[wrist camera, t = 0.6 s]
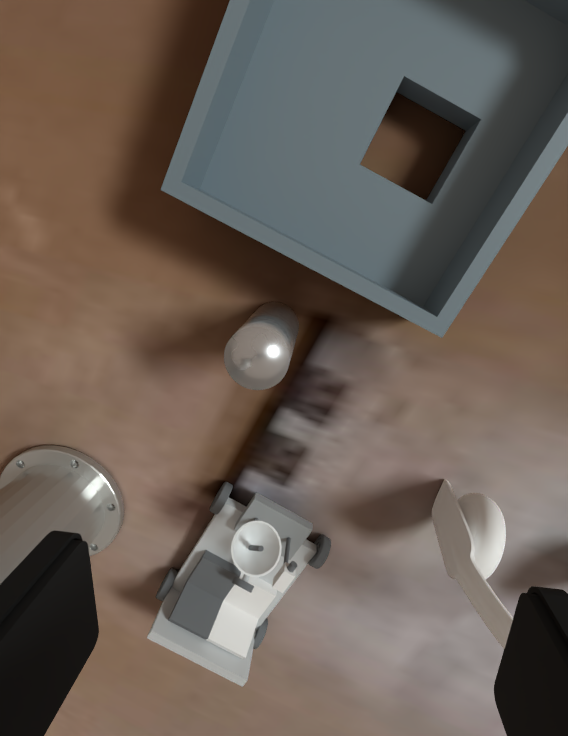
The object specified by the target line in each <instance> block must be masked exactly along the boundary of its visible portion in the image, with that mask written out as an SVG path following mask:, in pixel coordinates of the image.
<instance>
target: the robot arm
mask: <svg viewBox="0 0 568 736" xmlns="http://www.w3.org/2000/svg"><path fill="white" fill-rule="evenodd" d="M123 518H124V504H123V500H122V496H121V493H120V491H119V489H118V487H117V484H116V483H115V481H114V480H113V478H112V477H111V476H110V474H109V473H108V472H107V471H106V470H105V469H104V468H103V467H102V466H101V465H100V464H99V463H97V462H96V461H95V460H93V459H92V458H91V457H89V456H87V455H85V454H83V453H81V452H79V451H76V450H73V449H71V448H68V447H62V446H56V445H44V446H39V447H34V448H31V449H29V450H26V451H24V452H22V453H21V454H20V455H18V456H17V457H15V458H14V459H13V460H12V461H11V462H10V463H8V464H7V465H6V467H5V469H4V470H3V472H2V473H1V476H0V736H44V735H45V733H46V731H47V729H48V728H49V726H50V724H51V722H52V721H53V719H54V717H55V715H56V714H57V712H58V710H59V708H60V707H61V705H62V703H63V701H64V700H65V698H66V696H67V694H68V693H69V691H70V689H71V687H72V686H73V684H74V682H75V680H76V679H77V677H78V675H79V673H80V672H81V670H82V668H83V666H84V665H85V663H86V661H87V659H88V658H89V656H90V654H91V652H92V651H93V649H94V647H95V644H96V642H97V638H98V633H99V628H98V620H97V612H96V604H95V596H94V588H93V580H92V572H91V564H90V556H92V555H95V554H97V553H99V552H100V551H102V550H104V549H105V548H106V547H107V546H108V545H109V544H110V543H111V542H112V541H113V540H114V538H115V537H116V535H117V534H118V532H119V530H120V528H121V526H122V523H123ZM494 695H495V701H496V705H497V708H498V711H499V714H500V717H501V720H502V723H503V725H504V728H505V731H506V734H507V736H568V594H567V593H566V592H565V591H563V590H560V589H551V588H543V587H531V588H529V590H528V592H527V593H522V594H521V595H520V597H519V600H518V604H517V607H516V611H515V614H514V618H513V621H512V625H511V628H510V632H509V635H508V639H507V642H506V645H505V649H504V652H503V656H502V659H501V663H500V666H499V670H498V673H497V677H496V680H495V685H494Z"/></svg>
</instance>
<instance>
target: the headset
mask: <svg viewBox="0 0 568 736" xmlns="http://www.w3.org/2000/svg"><path fill="white" fill-rule="evenodd" d="M432 519H433V523H434V527H435V531H436V535H437V538H438V542H439V546H440V549H441V553H442V557H443V560H444V564H445V567H446V570H447V573H448V575H449V576H450V577H451V578H453V579H456V580H457V581H458V582H459V584H460V585H461V587H462V589H463V590H464V592H465V593H466V595H467V597H468V598H469V600H470V601H471V603H472V604H473V606H474V608H475V609H476V611H477V612H478V614H479V615H480V617H481V618H482V620H483V621H484V623H485V624H486V625H487V627H488V628H489V630H490V631H491V632H492V634H493V635H494V637H495V638H496V639H497V641H498V642H499V643H500V644H501V646H502V647H503V648H504V649H505V645H506V642H507V639H508V635H509V632H510V628H511V625H512V621H513V617H512V616H511V614H510V613H509V612H508V610H507V609H506V608H505V606H504V605H503V604H502V602H501V601H500V600H499V598H498V597H497V596H496V594H495V593H494V591H493V590H492V588H491V587H490V586H489V584H488V583H487V581H486V579H487V578H489V577H490V576H491V575H492V574H493V572H494V571H495V570H496V568H497V566H498V564H499V562H500V560H501V558H502V555H503V551H504V547H505V540H506V527H505V521H504V517H503V514H502V512H501V510H500V508H499V507H498V506H497V504H496V503H495V502H494V501H493V500H491V499H490V498H489V497H487V496H485V495H483V494H479V493H469V494H466V495H464V496H462V497H461V498H459V499H458V500H457V498H456V496H455V494H454V491H453V489H452V487H451V485H450V483H449V481H448V480H446V479H444V481H443V483H442V485H441V487H440V490H439V492H438V494H437V496H436V499H435V502H434V504H433V507H432Z"/></svg>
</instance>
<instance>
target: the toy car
mask: <svg viewBox="0 0 568 736" xmlns="http://www.w3.org/2000/svg"><path fill="white" fill-rule="evenodd" d="M232 488H233V485H232V484H230V483H228V482H224V483H223V485H222V487H221V488H220V490H219V491H218V493H217V495H216V497H215V499H214V501H213V503H212V505H211V507H210V511H211V512H212V513H214V514H215V515H214V516H213V518H212V520H211V521H210V523H209V524H208V526H207V528H206V529H205V531H204V532H203V534H202V535H201V537H200V539H199V540H198V542H197V543H196V545H195V547H194V548H193V550H192V551H191V553H190V554H189V556H188V558H187V559H186V561H185V562H184V564H183V566H182V567H181V569H180V570H179V572H178V571H176V570H174V569H173V568H171V569H170V570H169V572H168V574H167V575H166V577H165V579H164V580H163V582H162V584H161V586H160V588H159V590H158V592H157V595H156V598H157V599H159V600H161V601H163V602H162V604H161V607H160V609H159V611H158V614H157V616H156V618H155V620H154V623H153V625H152V627H151V629H150V632H149V634H148V636H147V638H148V639H150V640H152V641H154V642H156V643H158V644H160V645H162V646H164V647H166V648H168V649H170V650H171V651H173V652H175V653H177V654H179V655H181V656H183V657H185V658H187V659H189V660H191V661H193V662H195V663H197V664H199V665H201V666H203V667H205V668H207V669H209V670H211V671H213V672H215V673H217V674H219V675H221V676H222V677H224V678H226V679H228V680H230V681H232V682H234V683H236V684H238V685H240V686H242V687H243V685H244V684H245V683H246V682H247V680H248V675H249V669H250V663H251V658H252V652H253V649H256V648H258V647H259V645H260V644H261V642H262V640H263V638H264V636H265V633H266V630H267V625H268V620H267V616H268V615H269V614H270V613H271V611H272V610H273V609H274V607H275V606H276V605H277V603H278V602H279V601H280V599H281V598H282V597H283V596H284V594H285V593H286V592H287V590H288V589H289V588H290V586H291V585H292V584H293V583H294V581H295V580H296V579H297V577H298V576H299V575H300V573H301V572H302V571H303V569H304V568H305V567H306V566H307V564H308V563H309V565H310V566H312V567H314V568H316V569H318V568H320V567H321V566H322V565H323V564H324V562H325V561H326V559H327V557H328V554H329V551H330V547H331V540H330V539H329V538H328V537H326V536H324V535H320V536H319V537H318V538H317V540H316V541H315V542H314V543H312V542H310V541H308V540H306V538H307V537H308V536H309V534H310V533H311V532H312V524H313V523H311V522H309V521H307V520H306V519H304V518H302V517H300V516H298V515H296V514H295V513H293V512H291V511H289V510H287V509H286V508H284V507H282V506H280V505H278V504H276V503H275V502H273V501H271V500H269V499H267V498H266V497H264V496H262V495H260V494H258V493H255V495H254V496H253V498H252V499H251V501H250V502H249V504H248V505H247V507H246V506H244V505H242V504H240V503H239V502H237V501H235V500H233V499H231V498H229V495H230V493H231V491H232Z"/></svg>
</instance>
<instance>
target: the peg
mask: <svg viewBox="0 0 568 736" xmlns="http://www.w3.org/2000/svg"><path fill="white" fill-rule="evenodd" d="M298 330H299V322H298V318H297V316H296V314H295V312H294V311H293V310H292V309H291V308H290V307H289V306H287V305H286V304H283V303H280V302H269V303H266V304H264V305H262V306H260V307H259V308H258V309H257V310H256V311H255V312H254V313H253V314H252V316H251V317H250V318H249V319H248V320H247V321H246V322H245V323H244V324H243V325H242V326H241V327H240V328H239V329H238V331H237V332H236V333H235V334H234V335H233V336H232V337H231V338H230V340H229V341H228V343H227V345H226V347H225V351H224V362H225V366H226V369H227V371H228V373H229V375H230V376H231V377H232V379H233V380H234V381H235V382H237V383H238V384H240V385H241V386H243V387H245V388H248V389H253V390H264V389H268V388H271V387H273V386H275V385H276V384H278V383H279V382H280V381H281V380H282V379H283V377H284V376H285V374H286V372H287V370H288V366H289V363H290V359H291V356H292V352H293V348H294V345H295V341H296V338H297V334H298Z"/></svg>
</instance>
